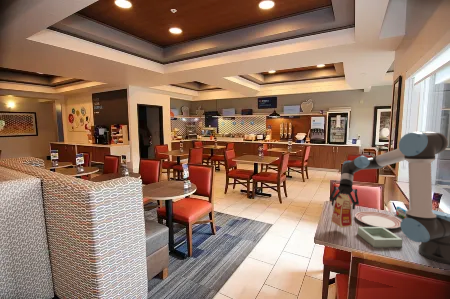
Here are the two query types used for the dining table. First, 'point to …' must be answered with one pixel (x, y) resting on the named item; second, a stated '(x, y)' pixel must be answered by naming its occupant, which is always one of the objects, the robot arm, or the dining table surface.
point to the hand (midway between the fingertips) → (342, 211)
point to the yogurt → (401, 212)
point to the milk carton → (342, 212)
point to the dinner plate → (378, 219)
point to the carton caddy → (379, 237)
